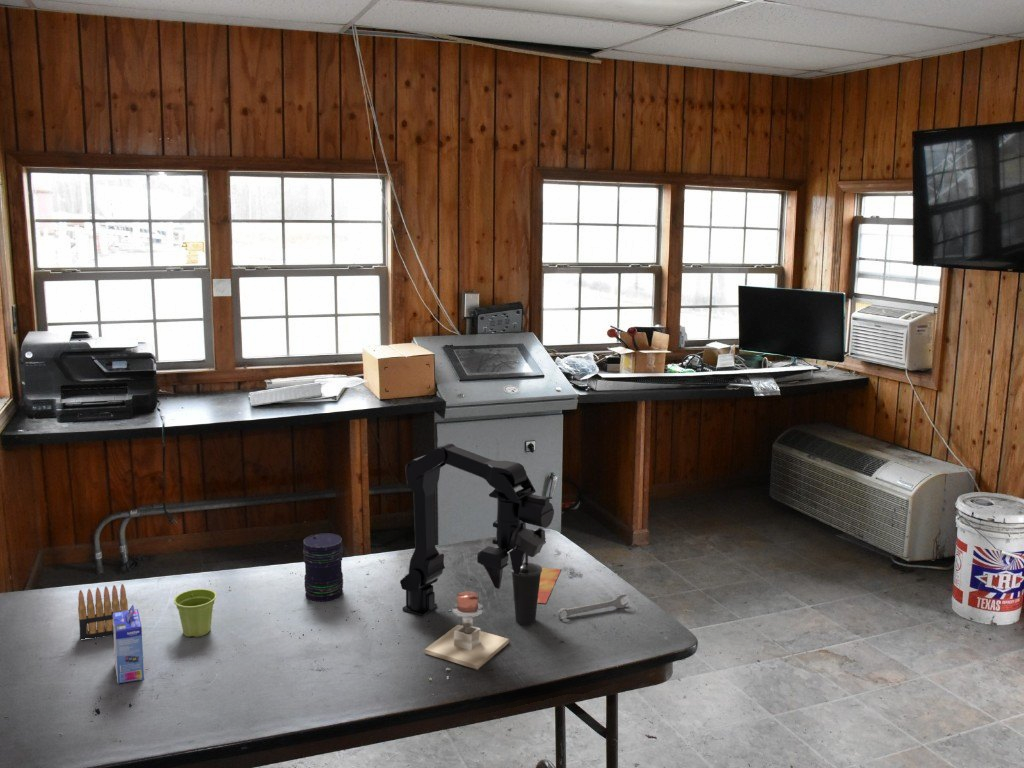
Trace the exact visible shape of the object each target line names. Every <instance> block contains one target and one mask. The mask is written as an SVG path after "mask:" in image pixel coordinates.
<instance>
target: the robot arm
mask: <svg viewBox="0 0 1024 768" xmlns="http://www.w3.org/2000/svg"><path fill="white" fill-rule="evenodd" d="M446 465H448V466H451V467H453V468H456V469H459V470H461V471H463V472H467V473H469V474H472V475H475V476H477V477H478V478H482V479H483V480H485V481H486V483H487V484H488V485H489V486H490V487H492V488H493V491H491V492H490V493H489V494H488V496H489V498H493V499H496V520H495V521H493V522H492V528H495V529H496V530H495V537H494V538H493V539H492V544H494V545H497V547H494V546H489V545H488V546H486V547H485V548H483V549H482V550H480V551H479V552H478V553H477V554H476V555H477V556H476V558H477V559H476V562H477V564H480V565H482V566H483V567H484V569H485V570H486V572H487V575H488V576H489V578H490V579H491V582H492V584H493V587H494V589H498V590H499V589H501V584H502V578H503V572H504V571H503V570H504V569H505V568H506V567H507V566H509V563H508V561H509V557H510V562H511V567H512V568H513V571H514V574H517V575H518V574H519V572H520V569H521V566H522V563H523V562H524V561H525V554H527V555H528V557H530V558H534V557H536V556H537V554H539V553H541V550H542V548H543V546H544V545H546V544H547V541H546V539H547V538H546V530H545V529H546V528H548V527H550V525H551V524H552V521H553V519H554V516H555V515H554V514H555V509H554V506H553V504H552V503H551V502H550V497H549V496H545V495H544V496H541V495H537V494H535V493H536V492H537V491H536V489H535V487H534V486H533V484H532V482H531V480H530V478H529V476H528V475H527V472H526V469H525V466H524V465H522V464H521V463H519V462H517V461H510V460H494V459H491V458H488V457H486V456H483V455H480V454H477V453H475V452H471V451H470V450H466V449H463V448H461V447H458V446H456V445H455V444H453V443H450V442H448V443H445V444H441V445H439V446H437V447H436V448H435V449H433V450H432V451H431V452H428V453H427V454H425V455H422V456H419V457H416V458H414V459H411V460H410V461H408V462H407V463H406V465H405V467H404V468H405V469H404V470H405V477H406V484H407V486H408V487H409V489H410V490H411V492H412V493H413V494H412V495H413V518H414V544H415V545H414V546H415V547H414V550H413V553H412V556H411V557H410V560H409V567H408V573H407V574H406V575H405V576H404V577H403V578H401V579H400V581H399V583H400V587H401V590H404V591H405V605H404V606H403V607H402V611H405V612H409V613H412V614H416V615H420V616H425V615H426V614H428V613H429V612H431V611H432V610H434V609H436V608H437V607H438V605H437V603H436V599H435V598H436V596H435V594H436V593H435V592H434V585H433V584H435V583H437V582H438V580H439V578H440V576H441V575H442V574H443V571H444V569H446V567H445V562H444V561H445V554H444V553H440V552H439V551H438V549H437V548H436V533H435V532H436V530H435V529H436V527H435V526H436V525H435V499H434V498H435V496H434V495H435V494H434V493H435V490H436V487H437V485H438V483H439V480H440V476H441V475H440V473H441V468H443V467H445V466H446ZM520 487H521V489H520V490H517V491H516V489H519V488H520ZM527 524H529V525H532V526H536V527H538V528H537V529H536V530H534V529H529V528H526V527H527V526H526V525H527ZM543 528H544V529H543Z"/></svg>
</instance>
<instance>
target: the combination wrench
mask: <svg viewBox="0 0 1024 768" xmlns="http://www.w3.org/2000/svg"><path fill="white" fill-rule="evenodd" d="M626 596H628V595H627V594H626V593H619V594H617V595H616V596H615V597H614V598H613V599H611V600H606V601H603V602H596V603H592V604H586V605H581V606H575V607H571V608H566V607H562V608H560V609H559V610H558V611H557V617H558V618H559V620H561V621H562V620H567V618H568V617H569V616H572V615H573V616H574V615H576V614H581V613H586V612H587V613H588V612H590V611H596V610H600V609H604V608H609V607H613V608H618V609H623V608H625V607H627V605H629V601H628V600H627V601H624V602H622V601H621V600H622V599H623V598H625V597H626ZM563 611H565V615H564V616H561V614H562V612H563Z"/></svg>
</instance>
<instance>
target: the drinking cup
mask: <svg viewBox="0 0 1024 768" xmlns="http://www.w3.org/2000/svg"><path fill="white" fill-rule="evenodd" d="M542 568H543V567H542V566H541V565H540V564H538V563H535V562H531V561H529V556H528V555H527V554H525V557H524V561H523V563H522V566H521V569H520V572H519V574H518V575H517V574H514V571H513V568H512V566H510V572H511V575H512V576H511V579H512V590H513V602H514V615H515V622H516V623H517V624H519V625H522V626H527V625H528V626H529V625H533V624H534V623H535V622H536V618H537V609H538V608H537V607H538V603H537V601H538V593H539V586H540V585H539V584H540V576H541V572H542Z"/></svg>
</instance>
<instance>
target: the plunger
mask: <svg viewBox="0 0 1024 768" xmlns="http://www.w3.org/2000/svg"><path fill="white" fill-rule="evenodd" d="M451 609H452V610H451V612H452V614H453V615H455V616H456V617H460V618H461V620H462V621H461V623H462V624H461V626H464V627H471V626H473V625H474V623H473V622H474V621H473V620H474V619H473V618H474V617H478V616H481V615H482V613H483V611H484V608H483V605H482V604H481V603H479V594H478V593H477V592H474V591H472V590H471V591H470V590H466V591H465V590H464V591H460V592H459V593H457V594H456V603H454V604H453V605H452V607H451Z"/></svg>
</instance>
